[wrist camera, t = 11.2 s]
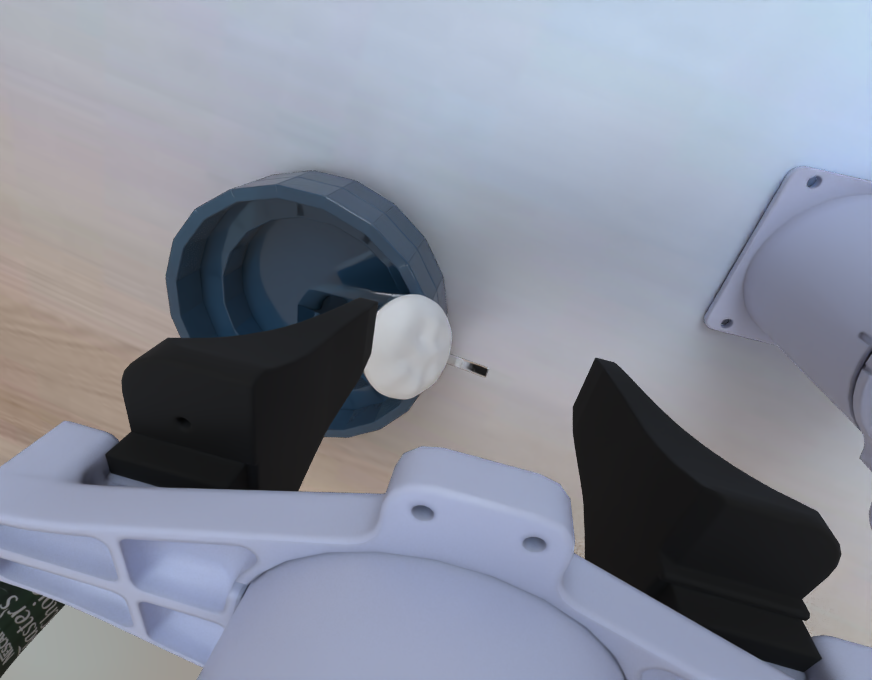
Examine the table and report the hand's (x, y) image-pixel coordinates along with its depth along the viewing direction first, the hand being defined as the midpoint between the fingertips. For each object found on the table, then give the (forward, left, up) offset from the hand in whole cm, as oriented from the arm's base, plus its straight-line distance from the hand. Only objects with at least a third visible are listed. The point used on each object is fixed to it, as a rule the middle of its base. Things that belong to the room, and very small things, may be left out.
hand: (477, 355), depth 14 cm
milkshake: (+8, +5, -9) cm, 13 cm away
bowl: (+9, +5, -10) cm, 15 cm away
